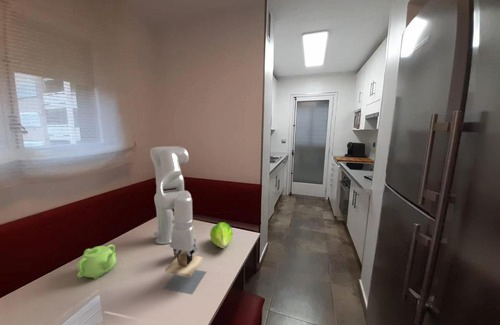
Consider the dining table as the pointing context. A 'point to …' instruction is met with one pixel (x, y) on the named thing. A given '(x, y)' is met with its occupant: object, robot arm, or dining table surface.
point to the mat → (185, 282)
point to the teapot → (97, 261)
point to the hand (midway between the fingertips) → (184, 261)
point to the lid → (184, 265)
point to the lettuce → (221, 234)
